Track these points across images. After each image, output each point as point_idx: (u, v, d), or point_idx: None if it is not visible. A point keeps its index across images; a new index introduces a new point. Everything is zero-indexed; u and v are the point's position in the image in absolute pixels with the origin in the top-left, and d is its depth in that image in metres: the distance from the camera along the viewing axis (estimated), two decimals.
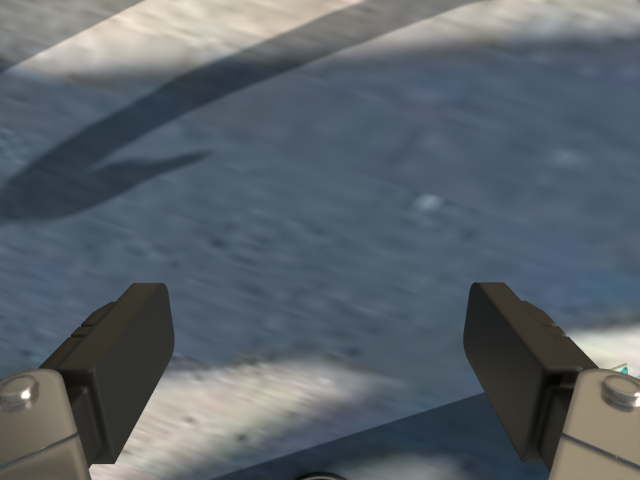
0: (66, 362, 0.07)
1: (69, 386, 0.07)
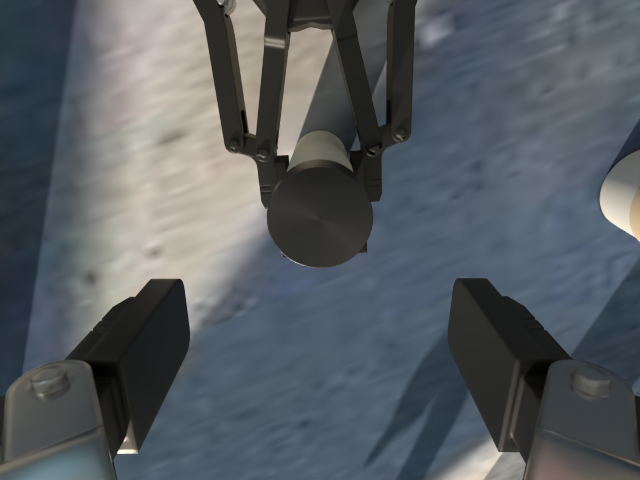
0: (93, 354, 0.08)
1: (96, 377, 0.08)
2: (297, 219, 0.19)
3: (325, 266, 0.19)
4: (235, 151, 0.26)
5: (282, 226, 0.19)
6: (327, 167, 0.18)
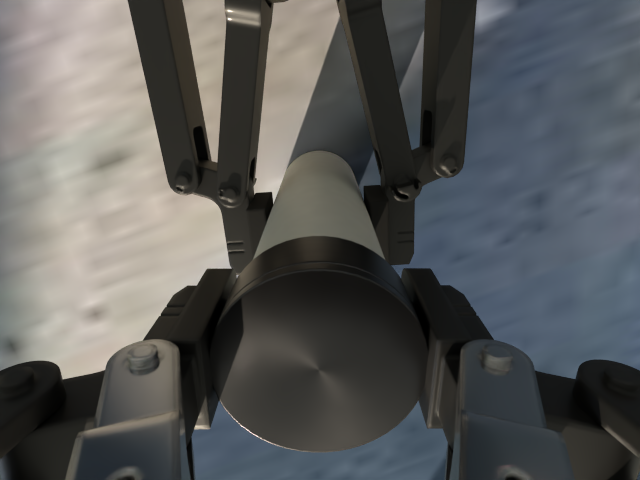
0: (173, 334, 0.08)
1: None
2: (272, 369, 0.09)
3: (329, 449, 0.10)
4: (185, 192, 0.17)
5: (241, 381, 0.09)
6: (335, 268, 0.08)
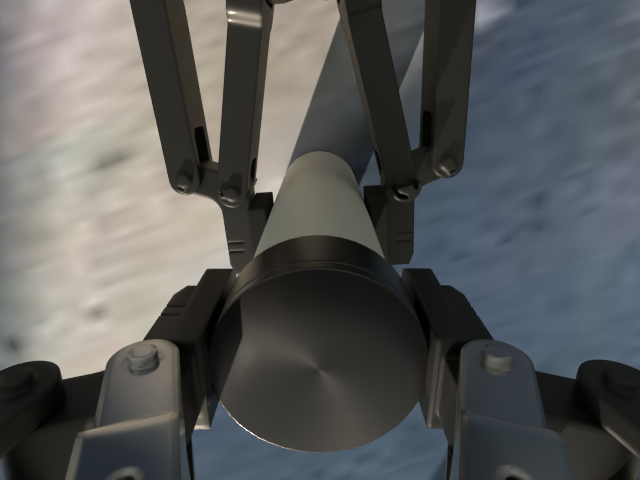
0: (173, 335, 0.08)
1: None
2: (315, 407, 0.09)
3: (426, 362, 0.09)
4: (186, 192, 0.17)
5: (329, 430, 0.09)
6: None
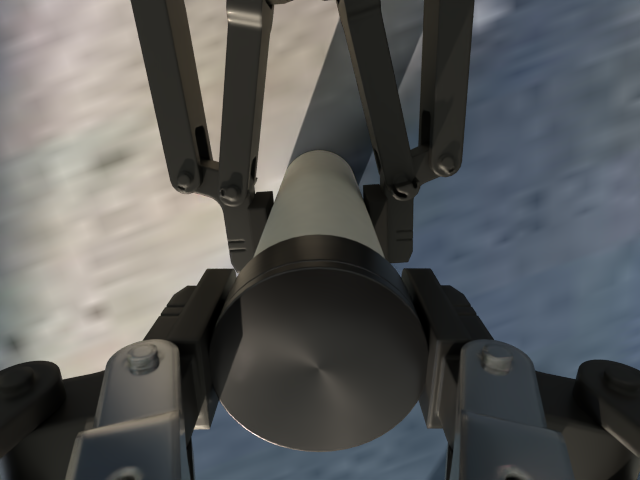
0: (173, 334, 0.08)
1: None
2: (365, 372, 0.09)
3: (313, 270, 0.08)
4: (187, 191, 0.17)
5: (398, 360, 0.09)
6: (298, 446, 0.10)
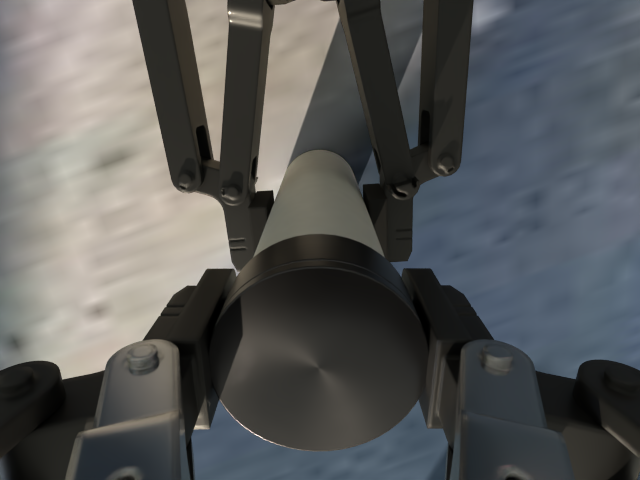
0: (173, 334, 0.08)
1: None
2: (324, 328, 0.09)
3: (211, 369, 0.09)
4: (188, 190, 0.17)
5: (311, 297, 0.08)
6: (422, 385, 0.09)
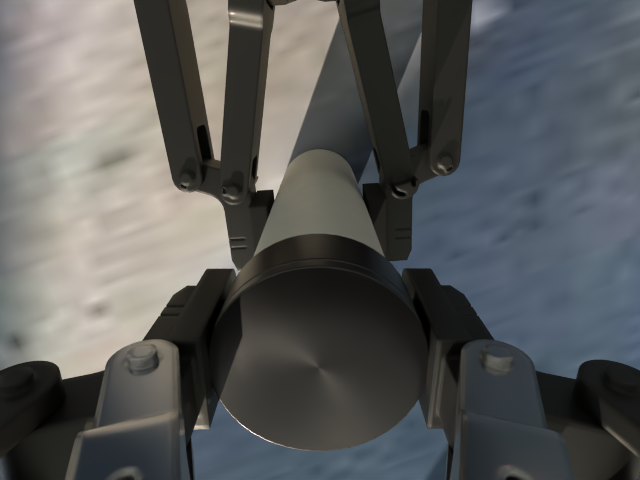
0: (173, 334, 0.08)
1: None
2: (271, 362, 0.09)
3: (316, 449, 0.10)
4: (189, 189, 0.17)
5: (238, 371, 0.09)
6: (350, 268, 0.08)
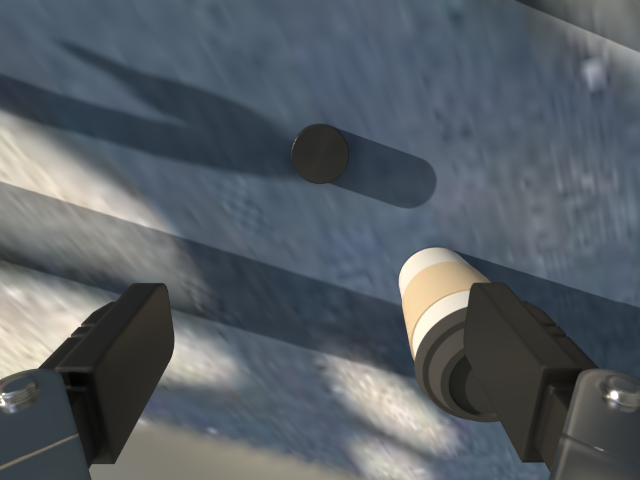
0: (66, 362, 0.07)
1: (69, 386, 0.07)
2: (317, 167, 0.35)
3: (347, 157, 0.34)
4: None
5: (320, 176, 0.35)
6: (292, 146, 0.34)
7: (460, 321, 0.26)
